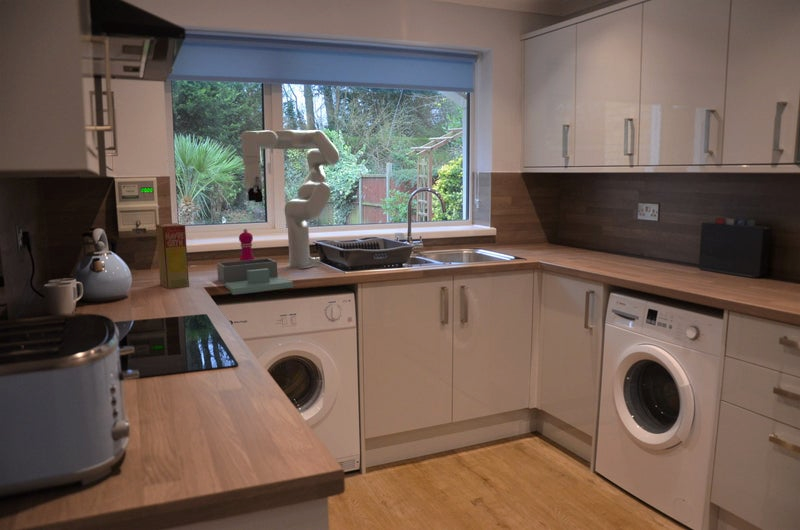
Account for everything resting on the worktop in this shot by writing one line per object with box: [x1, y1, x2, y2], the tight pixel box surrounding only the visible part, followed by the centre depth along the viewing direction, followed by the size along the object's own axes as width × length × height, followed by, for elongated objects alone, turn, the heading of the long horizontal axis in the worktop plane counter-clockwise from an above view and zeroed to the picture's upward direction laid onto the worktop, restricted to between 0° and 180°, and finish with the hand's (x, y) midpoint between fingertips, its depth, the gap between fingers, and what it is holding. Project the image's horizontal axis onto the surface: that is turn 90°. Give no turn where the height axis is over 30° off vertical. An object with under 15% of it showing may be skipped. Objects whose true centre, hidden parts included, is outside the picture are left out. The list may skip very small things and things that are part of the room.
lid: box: [224, 268, 294, 296], centre depth 253 cm, size 24×14×7 cm, turn 118°
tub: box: [216, 257, 279, 285], centre depth 268 cm, size 22×12×8 cm, turn 118°
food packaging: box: [155, 222, 190, 290], centre depth 261 cm, size 13×9×25 cm
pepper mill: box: [238, 228, 255, 261], centre depth 285 cm, size 7×7×20 cm
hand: (255, 201), depth 275 cm, fingers open, 9 cm apart
